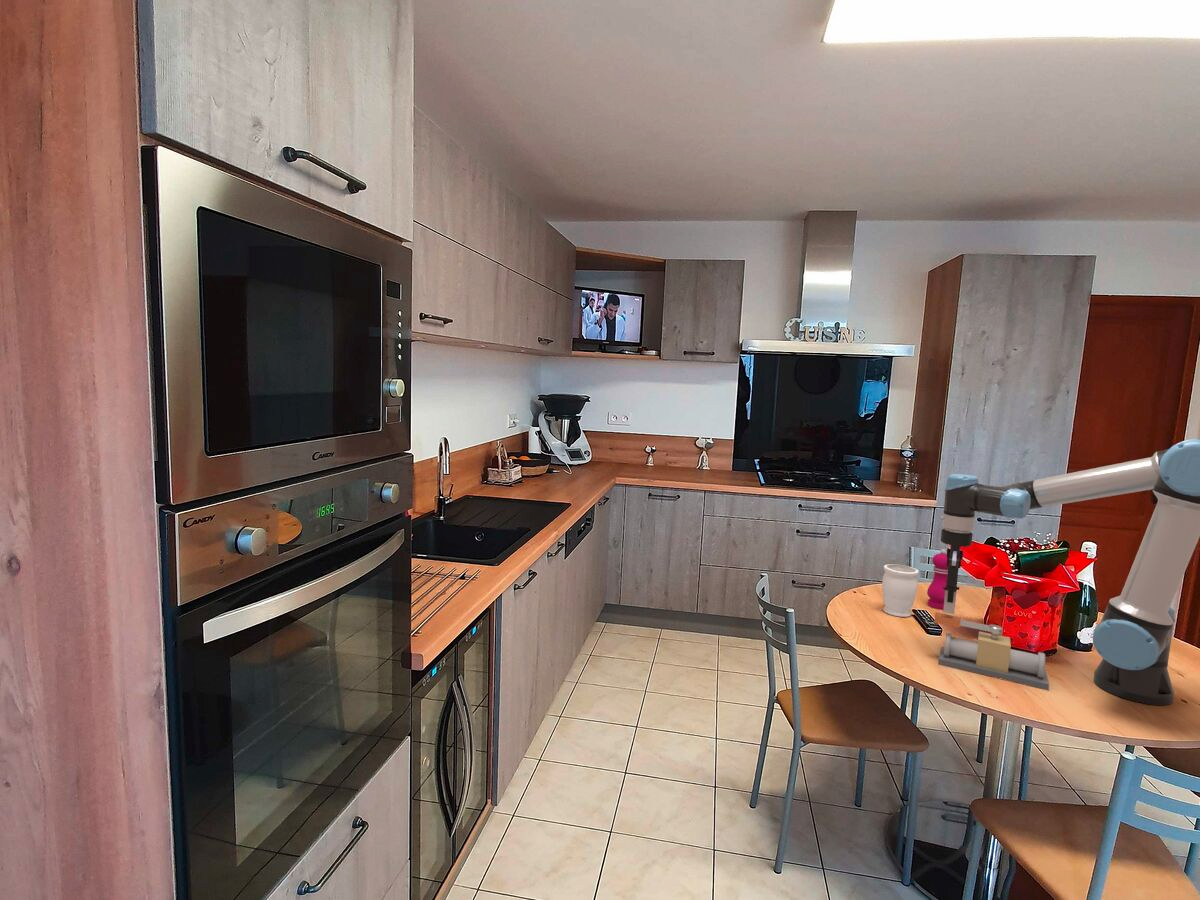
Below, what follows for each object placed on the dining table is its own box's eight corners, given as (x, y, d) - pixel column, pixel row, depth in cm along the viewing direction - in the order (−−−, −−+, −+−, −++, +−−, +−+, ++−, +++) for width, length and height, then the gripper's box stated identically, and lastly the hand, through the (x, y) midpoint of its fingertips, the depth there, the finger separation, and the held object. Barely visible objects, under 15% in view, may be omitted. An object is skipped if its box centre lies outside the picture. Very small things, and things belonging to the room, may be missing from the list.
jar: (915, 621, 198) (919, 575, 197) (879, 614, 203) (883, 569, 201) (913, 610, 208) (918, 566, 206) (879, 605, 212) (883, 561, 211)
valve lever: (1001, 632, 164) (1002, 625, 164) (1001, 636, 162) (1002, 629, 161) (935, 619, 172) (935, 612, 172) (934, 622, 170) (934, 615, 169)
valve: (1044, 675, 163) (1049, 638, 162) (1048, 690, 154) (1052, 652, 153) (940, 651, 175) (943, 617, 174) (938, 664, 166) (941, 628, 166)
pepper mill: (954, 610, 209) (960, 552, 207) (932, 609, 210) (938, 551, 208) (942, 603, 217) (948, 546, 215) (921, 602, 217) (927, 546, 215)
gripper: (942, 524, 180) (934, 603, 183) (940, 532, 169) (932, 616, 172) (972, 528, 177) (964, 608, 179) (973, 536, 165) (963, 622, 168)
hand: (948, 612), depth 175 cm, fingers closed
